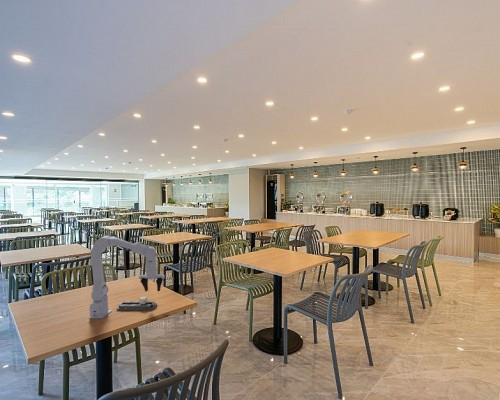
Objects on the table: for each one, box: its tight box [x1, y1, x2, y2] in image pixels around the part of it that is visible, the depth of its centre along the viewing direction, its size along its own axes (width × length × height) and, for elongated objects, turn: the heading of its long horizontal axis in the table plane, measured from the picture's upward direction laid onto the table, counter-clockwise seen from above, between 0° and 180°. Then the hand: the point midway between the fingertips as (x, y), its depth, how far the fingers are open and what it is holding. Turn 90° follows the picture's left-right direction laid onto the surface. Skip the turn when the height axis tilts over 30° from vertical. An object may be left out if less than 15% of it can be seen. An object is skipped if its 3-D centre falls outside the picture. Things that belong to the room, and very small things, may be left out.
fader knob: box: [139, 296, 148, 304], centre depth 164 cm, size 4×3×5 cm
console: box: [116, 300, 158, 312], centre depth 165 cm, size 8×21×3 cm, turn 85°
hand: (152, 290), depth 164 cm, fingers open, 7 cm apart
